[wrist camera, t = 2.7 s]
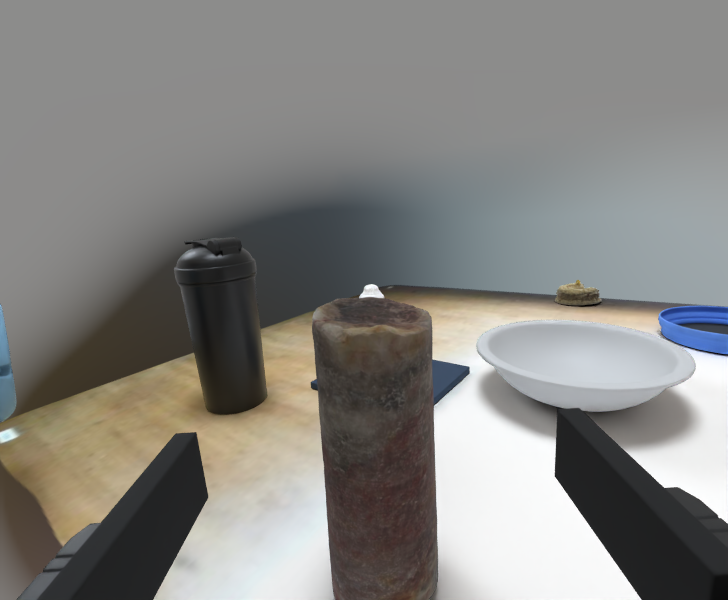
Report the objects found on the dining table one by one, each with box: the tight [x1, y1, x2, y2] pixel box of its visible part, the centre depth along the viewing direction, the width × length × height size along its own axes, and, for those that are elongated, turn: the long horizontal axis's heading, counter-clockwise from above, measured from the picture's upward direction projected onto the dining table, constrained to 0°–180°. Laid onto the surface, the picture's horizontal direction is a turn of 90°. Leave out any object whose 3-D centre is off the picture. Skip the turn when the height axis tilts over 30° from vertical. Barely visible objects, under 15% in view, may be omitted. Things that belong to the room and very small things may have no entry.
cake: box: [555, 280, 601, 305], centre depth 95 cm, size 10×10×5 cm
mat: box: [311, 360, 469, 404], centre depth 60 cm, size 18×16×1 cm
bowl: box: [658, 306, 728, 354], centre depth 66 cm, size 18×18×4 cm
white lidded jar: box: [359, 284, 384, 298], centre depth 99 cm, size 6×6×7 cm
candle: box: [312, 297, 438, 600], centre depth 26 cm, size 8×7×20 cm
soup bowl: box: [476, 320, 696, 412], centre depth 52 cm, size 24×24×7 cm
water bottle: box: [174, 237, 267, 414], centre depth 55 cm, size 10×10×23 cm
